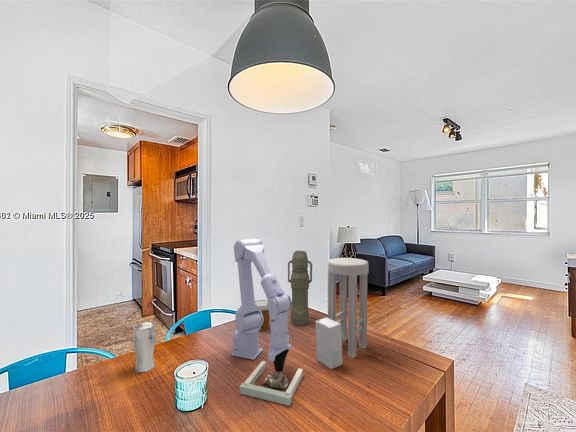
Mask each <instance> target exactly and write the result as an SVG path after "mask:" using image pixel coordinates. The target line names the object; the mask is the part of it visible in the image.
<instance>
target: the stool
mask: <svg viewBox="0 0 576 432" xmlns="http://www.w3.org/2000/svg"><path fill="white" fill-rule="evenodd" d="M369 268H370V267H369V262H368V260H365V259H362V258H355V257H354V258H353V257H336V258H335V257H334V258H331V259H328V263H327V318H329V319H331V320H333V321H336V322H338V323H341V336H342V342H344V343H345V342H346V341H347V345H348V347H347V356H348V357H349V358H351V359H355V358H356V357H357V333H359V334H358V348H361V349H364V350H365V349H366V348H367V347H368V346H367V345H368V342H367V341H368V274H369V270H370V269H369ZM337 275H339V312H338V313H336V311H337V309H336V308H337ZM358 276H359V289H358ZM358 290H359V296H358ZM358 297H359V299H357V298H358ZM358 301H359V306H358ZM357 306H358V307H359V309H358V307H357ZM357 309H358V310H359V311H357ZM358 312H359V313H358ZM357 313H358V314H357ZM358 315H359V318H357V317H358ZM347 318H348V319H347ZM337 319H338V320H337ZM357 325H358V326H357ZM347 326H348V327H347ZM347 329H348V331H347Z"/></svg>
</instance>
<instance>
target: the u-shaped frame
mask: <svg viewBox="0 0 576 432" xmlns="http://www.w3.org/2000/svg"><path fill="white" fill-rule="evenodd" d="M266 369H267V361H264V360H261V361H260V363H259V364H258V365H257V367H255V369H254V370H253V371H252V372H251V374H250V375H249V376H248V377H247V379H245V381H244V382H241V384H240V385H239V394H240V395H244V396H249V397H252V398H257V399H260V400H264V401H267V402H268V401H269V402H272V403H277V404H281V405H284V406H288V407H290V406H291V405H292V402H293V397H294V395H295V392H296V390H297V389H298V387H299V385H300V382H301V380H302V379H303V376H304V369H303V368H297V370H296V372H295V374H294V376H293V378H292V380H291V381H290V384H288V386H287V388H286V389H285V390H286V391H281V390H276V389H272V388H269V387H265V386H259V385H255V383H256V382H257V380H258V379H259V378H260V376H261V375H262V373H264V371H265V370H266Z"/></svg>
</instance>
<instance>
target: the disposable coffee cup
mask: <svg viewBox="0 0 576 432" xmlns="http://www.w3.org/2000/svg"><path fill="white" fill-rule="evenodd" d="M267 303H268V299H258V300H255V304H256V305H257V306H259V307H260V308H261V312H262V315H263V318H264V322H263V325H262V326H261V327H260V330H259V332H264V331H265V332H266V331H267V330H269V326H270V320H271V319H270V317H269V311H268V308H267Z"/></svg>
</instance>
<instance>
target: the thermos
mask: <svg viewBox="0 0 576 432" xmlns="http://www.w3.org/2000/svg"><path fill="white" fill-rule="evenodd" d="M290 264H291V266H292V267H290ZM309 267H310V268H309ZM290 268H292V270H290ZM308 268H309V270H308ZM290 271H291V272H292V273H291V274H290ZM308 271H309V272H308ZM309 273H310V274H309ZM287 281H288V283H290V288H291V302H292V306H291V309H290V320H291V321H290V324H291V325H292V326H293V327H294V326H295V327H306V326H308V325H309V323H310V321H309V319H310V311H309V288H310V284H311V282H313V263H312V261H310V260H309V259H308V253H307V251H304V250H295V251H293V254H292V259H291V260H289V261H288V262H287Z"/></svg>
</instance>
